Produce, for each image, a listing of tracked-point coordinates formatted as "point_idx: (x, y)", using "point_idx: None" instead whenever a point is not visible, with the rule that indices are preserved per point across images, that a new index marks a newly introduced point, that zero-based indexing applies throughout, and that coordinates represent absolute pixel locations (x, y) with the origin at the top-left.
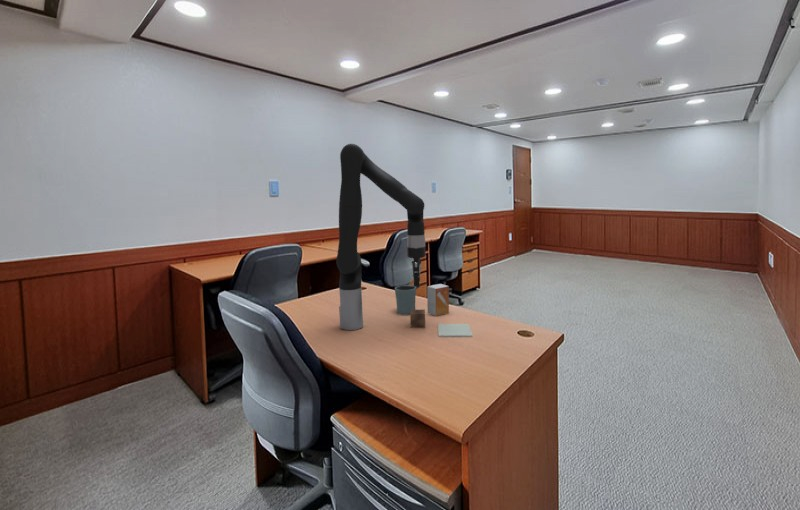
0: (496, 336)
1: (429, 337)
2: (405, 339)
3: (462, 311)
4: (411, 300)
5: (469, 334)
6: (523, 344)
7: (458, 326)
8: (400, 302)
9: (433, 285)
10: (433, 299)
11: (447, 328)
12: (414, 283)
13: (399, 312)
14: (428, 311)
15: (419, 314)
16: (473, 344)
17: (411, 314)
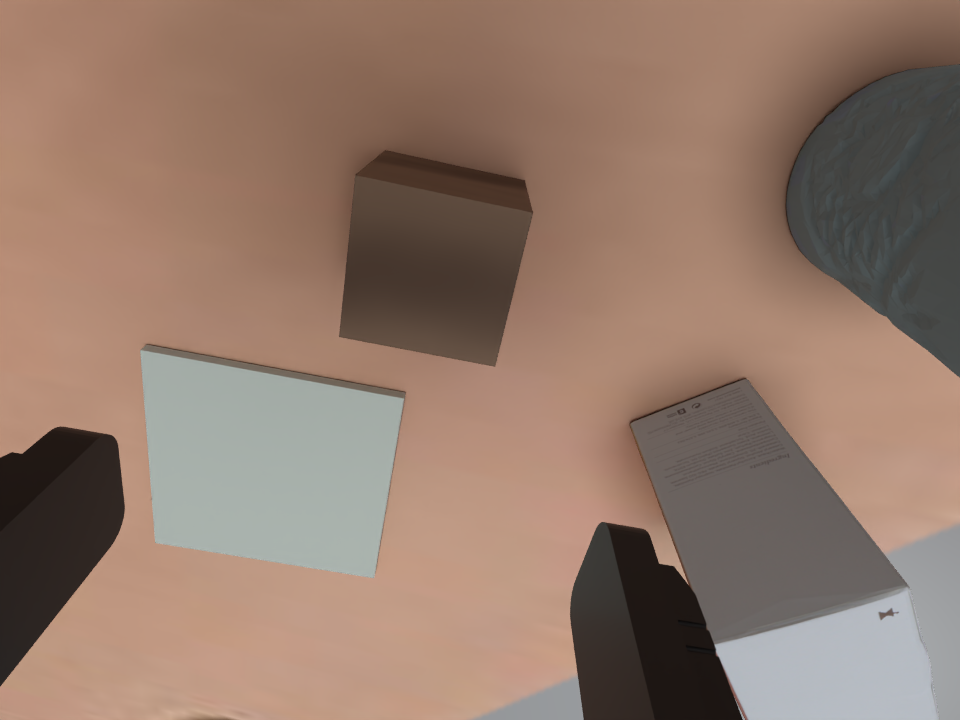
0: (177, 636)
1: (132, 274)
2: (61, 43)
3: None
4: (868, 279)
5: (171, 532)
6: (73, 694)
7: (330, 512)
8: (929, 115)
9: (901, 657)
10: (702, 514)
11: (293, 439)
12: (7, 481)
13: (866, 89)
14: (737, 392)
15: (346, 281)
16: None
17: (356, 188)
